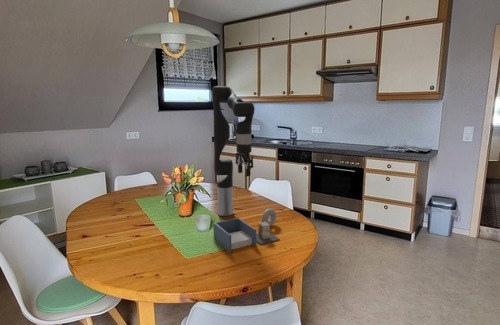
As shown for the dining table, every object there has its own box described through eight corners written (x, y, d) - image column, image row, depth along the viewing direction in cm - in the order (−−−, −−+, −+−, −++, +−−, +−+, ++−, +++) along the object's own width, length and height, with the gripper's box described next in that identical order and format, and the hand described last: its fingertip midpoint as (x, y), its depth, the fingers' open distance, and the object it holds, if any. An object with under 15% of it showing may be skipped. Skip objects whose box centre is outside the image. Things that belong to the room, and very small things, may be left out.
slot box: (213, 237, 157) (213, 222, 156) (238, 232, 164) (238, 217, 162) (229, 252, 142) (229, 235, 140) (256, 245, 148) (256, 229, 147)
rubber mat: (249, 236, 158) (249, 235, 158) (267, 232, 164) (267, 231, 163) (260, 245, 149) (260, 243, 149) (279, 240, 154) (279, 239, 154)
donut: (264, 229, 167) (264, 211, 165) (260, 227, 169) (260, 210, 168) (277, 224, 174) (277, 207, 172) (273, 223, 176) (273, 206, 174)
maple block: (258, 236, 157) (258, 223, 156) (265, 234, 159) (265, 221, 158) (262, 239, 154) (262, 225, 152) (269, 237, 155) (269, 224, 154)
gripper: (230, 141, 162) (231, 172, 165) (244, 144, 150) (244, 178, 153) (243, 140, 166) (244, 171, 169) (257, 143, 154) (257, 176, 157)
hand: (244, 174), depth 161 cm, fingers open, 8 cm apart
